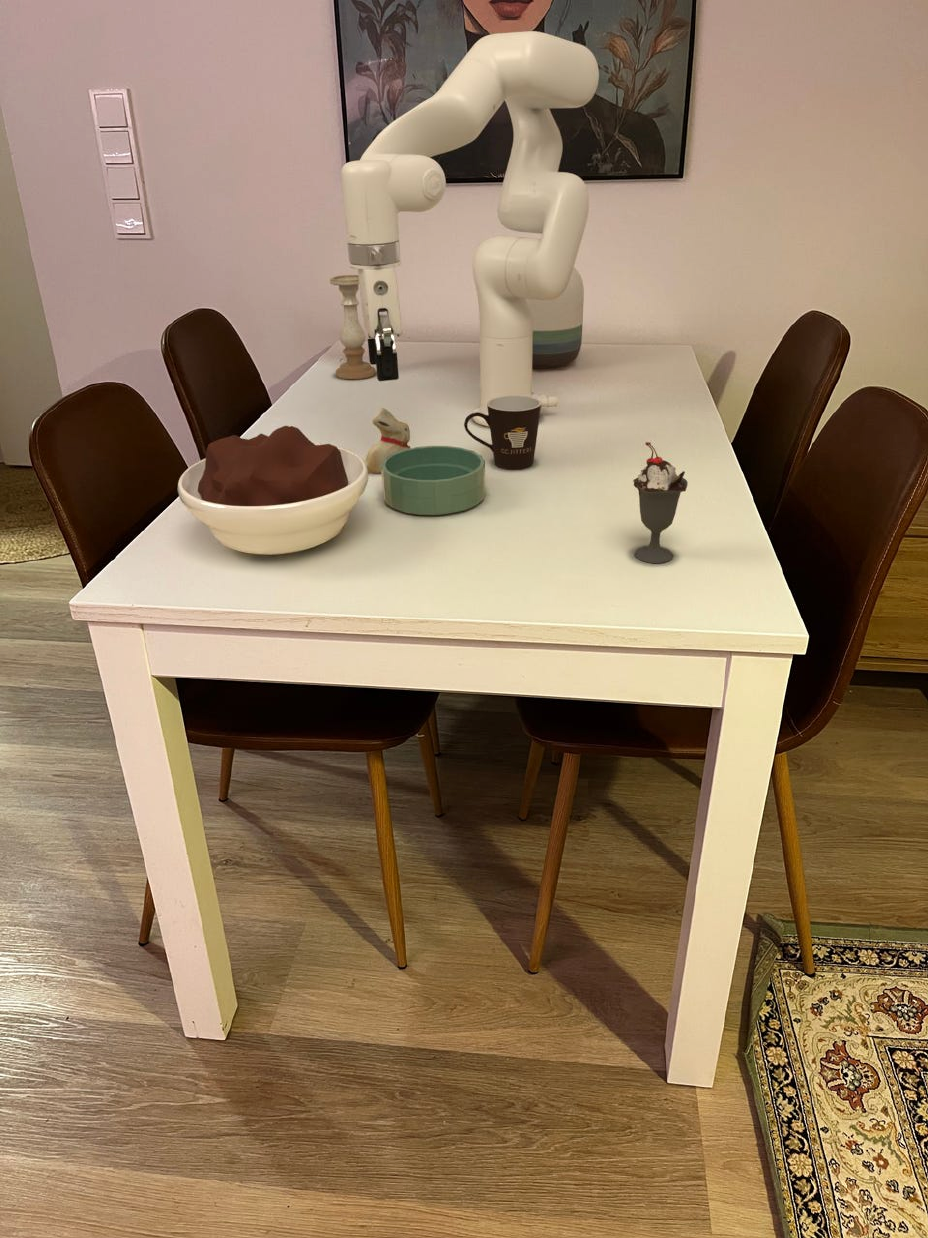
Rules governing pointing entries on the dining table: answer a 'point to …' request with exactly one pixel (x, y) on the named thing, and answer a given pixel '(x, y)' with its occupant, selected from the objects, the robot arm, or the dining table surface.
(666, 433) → the dining table surface
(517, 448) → the coffee mug
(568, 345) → the vase
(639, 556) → the sundae
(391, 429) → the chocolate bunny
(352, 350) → the candle holder
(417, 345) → the dining table surface
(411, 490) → the bowl
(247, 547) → the cream round dish
